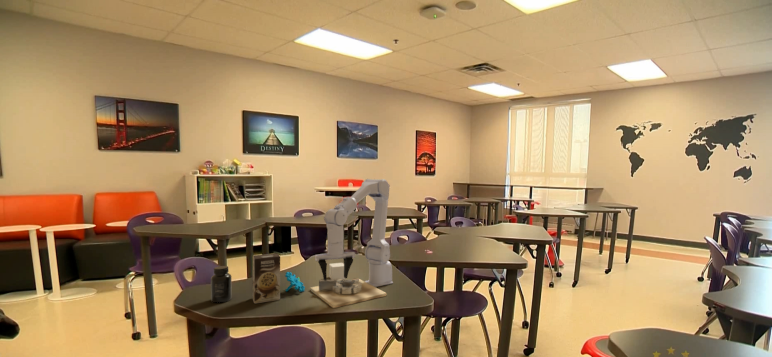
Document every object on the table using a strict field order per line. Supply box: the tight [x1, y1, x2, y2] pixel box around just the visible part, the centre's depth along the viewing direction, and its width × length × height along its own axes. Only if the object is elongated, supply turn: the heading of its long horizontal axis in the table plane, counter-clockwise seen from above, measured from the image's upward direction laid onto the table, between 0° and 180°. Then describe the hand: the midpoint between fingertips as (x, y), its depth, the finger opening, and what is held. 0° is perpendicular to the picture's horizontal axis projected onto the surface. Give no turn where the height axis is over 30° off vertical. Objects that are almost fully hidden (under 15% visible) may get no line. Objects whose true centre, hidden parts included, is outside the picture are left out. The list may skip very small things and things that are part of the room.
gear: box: [284, 271, 306, 293], centre depth 135 cm, size 11×6×10 cm
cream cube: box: [328, 262, 347, 281], centre depth 152 cm, size 6×6×6 cm
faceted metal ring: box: [318, 278, 362, 294], centre depth 133 cm, size 16×11×4 cm
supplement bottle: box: [210, 265, 233, 304], centre depth 125 cm, size 7×7×12 cm
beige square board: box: [309, 277, 388, 309], centre depth 133 cm, size 22×22×4 cm
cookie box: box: [252, 252, 281, 304], centre depth 126 cm, size 9×6×16 cm
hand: (335, 278), depth 126 cm, fingers open, 7 cm apart
